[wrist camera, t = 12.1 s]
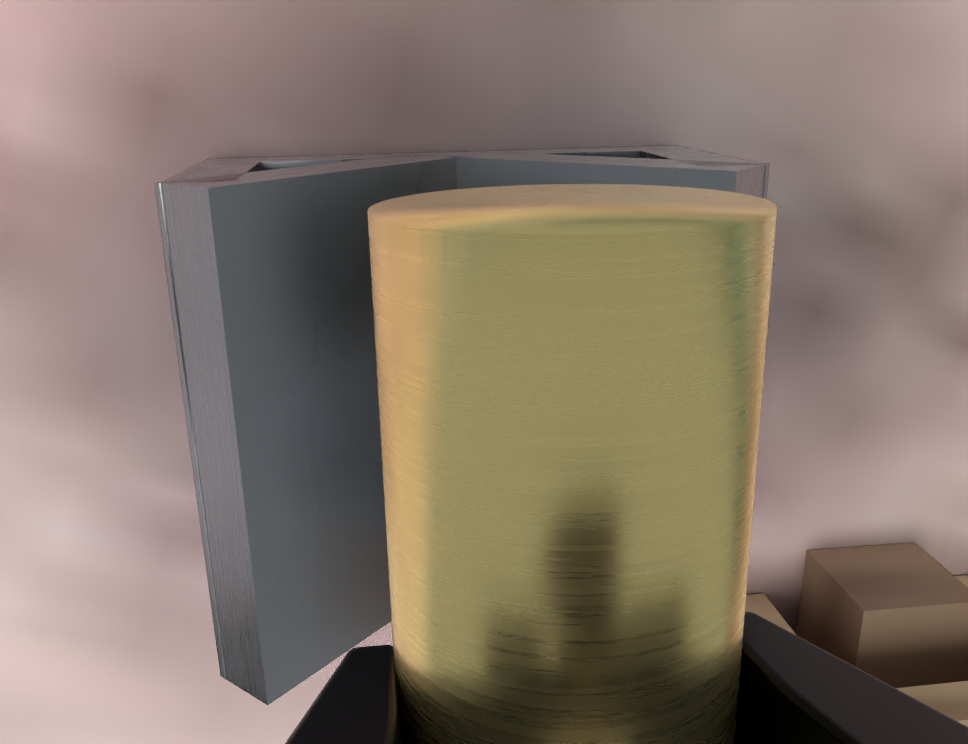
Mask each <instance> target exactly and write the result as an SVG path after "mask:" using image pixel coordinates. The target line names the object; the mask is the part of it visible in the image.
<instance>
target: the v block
mask: <svg viewBox="0 0 968 744" xmlns="http://www.w3.org/2000/svg"><path fill="white" fill-rule="evenodd" d="M768 173H769V164H767V163H758V162H753V161H748V160H744V159H739V158H734V157H729V156H725V155H720V154H715V153H710V152H706V151H701V150H696V149H691V148H687V147H682V146H677V145H671V146H636V147H601V148H566V149H530V150H495V151H460V152H425V153H390V154H355V155H320V156H285V157H250V158H215V159H207V160H205V161H203V162H201V163H199V164H197V165H195V166H193V167H191V168H189V169H187V170H185V171H183V172H181V173H179V174H177V175H175V176H173V177H171V178H169V179H167V180H165V181H163V182H158V183H154V184H155V191H156V199H157V206H158V214H159V221H160V229H161V236H162V243H163V251H164V258H165V266H166V273H167V281H168V288H169V295H170V303H171V310H172V318H173V325H174V333H175V340H176V348H177V355H178V362H179V370H180V377H181V385H182V392H183V400H184V407H185V414H186V422H187V429H188V437H189V444H190V452H191V459H192V466H193V474H194V481H195V489H196V496H197V504H198V511H199V519H200V526H201V533H202V541H203V548H204V556H205V563H206V571H207V578H208V585H209V593H210V600H211V608H212V615H213V623H214V630H215V638H216V645H217V652H218V660H219V667H220V675H221V676H222V677H223V678H225V680H228V681H230V682H231V683H233V684H234V685H236V686H238V687H239V688H241V689H242V690H244V691H246V692H247V693H249V694H251V695H252V696H254V697H255V698H257V699H259V700H260V701H262V702H263V703H265V704H267V705H269V704H270V703H272V702H273V701H275V700H276V699H277V698H279V697H280V696H282V695H283V694H285V693H286V692H288V691H289V690H291V689H292V688H294V687H295V686H297V685H298V684H299V683H301V682H302V681H304V680H305V679H307V678H308V677H310V676H311V675H313V674H314V673H316V672H317V671H318V670H320V669H321V668H323V667H324V666H326V665H327V664H329V663H330V662H332V661H333V660H335V659H336V658H338V657H339V656H340V655H342V654H343V653H345V652H346V651H348V650H349V649H351V648H352V647H354V646H355V645H357V644H358V643H360V642H361V641H362V640H364V639H365V638H367V637H368V636H370V635H371V634H373V633H374V632H376V631H377V630H379V629H380V628H381V627H383V626H384V625H386V624H387V623H389V622H390V621H392V620H391V603H390V586H389V569H388V552H387V535H386V518H385V501H384V484H383V467H382V450H381V433H380V416H379V399H378V382H377V365H376V348H375V331H374V314H373V297H372V280H371V263H370V246H369V229H368V212H367V211H368V209H369V207H371V206H372V205H374V204H376V203H379V202H382V201H385V200H389V199H393V198H398V197H402V196H408V195H414V194H421V193H428V192H436V191H445V190H455V189H466V188H480V187H495V186H515V185H543V184H629V185H657V186H675V187H689V188H701V189H712V190H720V191H728V192H735V193H742V194H747V195H752V196H757V197H760V198H764V199H766V197H767V185H768Z"/></svg>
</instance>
